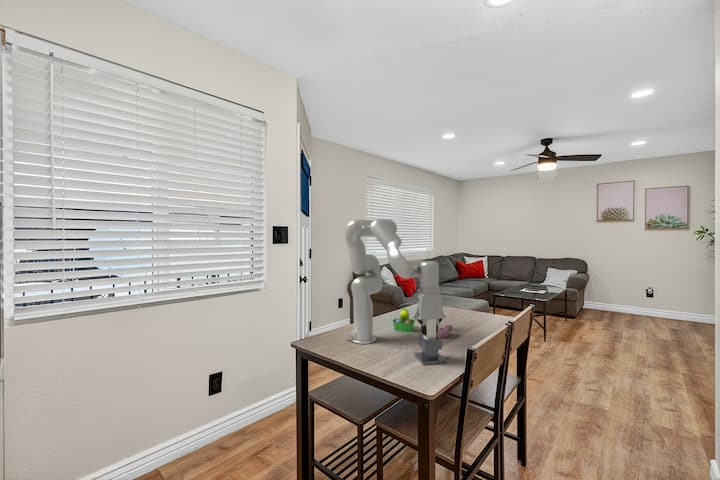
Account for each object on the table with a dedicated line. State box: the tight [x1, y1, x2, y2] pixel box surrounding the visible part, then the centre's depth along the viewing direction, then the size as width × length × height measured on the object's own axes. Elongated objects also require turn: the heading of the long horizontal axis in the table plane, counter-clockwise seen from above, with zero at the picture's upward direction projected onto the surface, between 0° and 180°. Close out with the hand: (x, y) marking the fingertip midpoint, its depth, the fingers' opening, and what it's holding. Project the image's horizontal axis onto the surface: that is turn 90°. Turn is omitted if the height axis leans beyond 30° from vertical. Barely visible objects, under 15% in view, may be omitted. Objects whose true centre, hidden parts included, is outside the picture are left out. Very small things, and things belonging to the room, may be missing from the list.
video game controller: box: [437, 324, 453, 339], centre depth 160 cm, size 10×5×7 cm, turn 149°
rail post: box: [423, 319, 436, 340], centre depth 131 cm, size 4×4×12 cm
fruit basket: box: [391, 307, 416, 333], centre depth 172 cm, size 11×9×11 cm
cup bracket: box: [414, 333, 447, 366], centre depth 131 cm, size 10×10×10 cm
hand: (429, 333), depth 131 cm, fingers open, 4 cm apart
